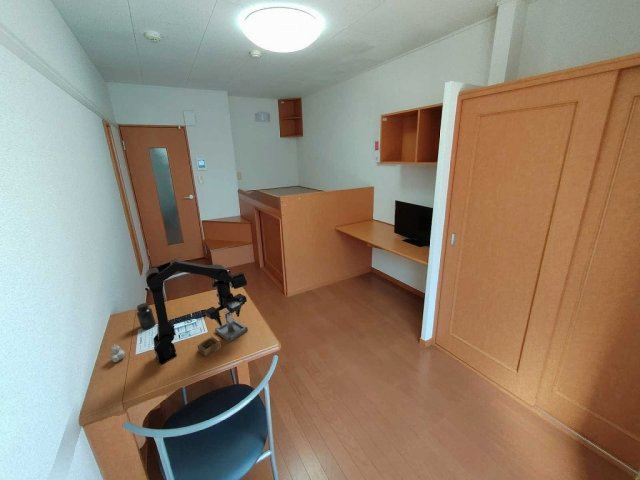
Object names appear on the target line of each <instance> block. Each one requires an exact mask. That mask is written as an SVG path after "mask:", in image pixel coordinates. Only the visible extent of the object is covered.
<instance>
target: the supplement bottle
mask: <svg viewBox="0 0 640 480" xmlns="http://www.w3.org/2000/svg"><path fill="white" fill-rule="evenodd" d="M136 310H137V312H136V318H137V320H138V324H139V326H140V329H141V330H149V329H151V328H153V327H155V326H156V324H157V321H156V318H155V314H154V312H153V308H152V307H150V306H149V303H147V302H143V303H140V304H138V305H137V306H136Z"/></svg>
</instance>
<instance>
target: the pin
mask: <svg viewBox="0 0 640 480" xmlns="http://www.w3.org/2000/svg"><path fill="white" fill-rule="evenodd" d="M223 315H224V319H225V323H226V324H227V329H228V332H233V331H234V330H235V328H234V323H233V319H234V317H233V313H230V312H229V311H228V310H225V311H224V313H223Z"/></svg>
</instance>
